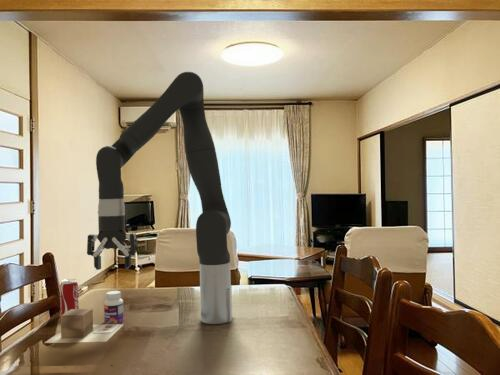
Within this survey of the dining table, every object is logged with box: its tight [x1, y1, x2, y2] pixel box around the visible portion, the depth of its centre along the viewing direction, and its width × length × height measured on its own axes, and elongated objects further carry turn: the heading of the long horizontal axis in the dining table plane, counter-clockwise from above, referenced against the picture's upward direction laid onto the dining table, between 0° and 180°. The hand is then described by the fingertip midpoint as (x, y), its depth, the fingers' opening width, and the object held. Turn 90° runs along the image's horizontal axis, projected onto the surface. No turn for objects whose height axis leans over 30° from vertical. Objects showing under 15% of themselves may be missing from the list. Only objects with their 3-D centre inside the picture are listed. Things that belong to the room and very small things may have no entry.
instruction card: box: [93, 323, 121, 333], centre depth 115 cm, size 5×7×1 cm
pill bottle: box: [103, 290, 125, 324], centre depth 122 cm, size 5×5×10 cm
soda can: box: [59, 278, 80, 316], centre depth 130 cm, size 5×5×12 cm
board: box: [44, 323, 125, 344], centre depth 112 cm, size 16×14×1 cm
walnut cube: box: [60, 308, 94, 339], centre depth 111 cm, size 6×6×6 cm
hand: (112, 269), depth 122 cm, fingers open, 8 cm apart
